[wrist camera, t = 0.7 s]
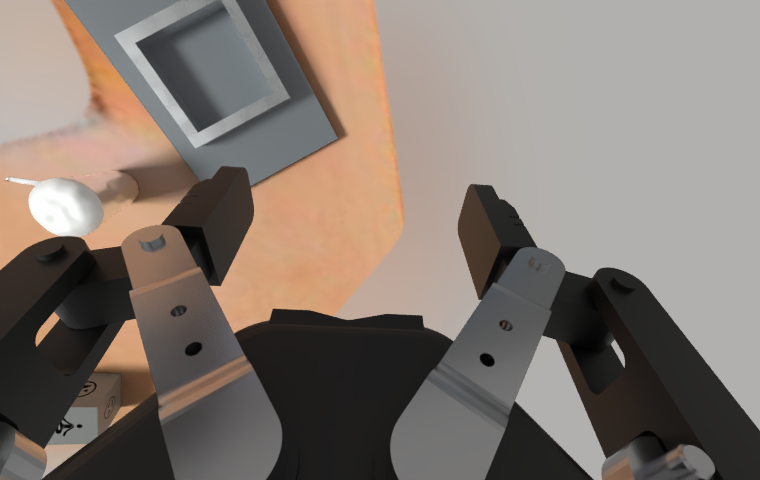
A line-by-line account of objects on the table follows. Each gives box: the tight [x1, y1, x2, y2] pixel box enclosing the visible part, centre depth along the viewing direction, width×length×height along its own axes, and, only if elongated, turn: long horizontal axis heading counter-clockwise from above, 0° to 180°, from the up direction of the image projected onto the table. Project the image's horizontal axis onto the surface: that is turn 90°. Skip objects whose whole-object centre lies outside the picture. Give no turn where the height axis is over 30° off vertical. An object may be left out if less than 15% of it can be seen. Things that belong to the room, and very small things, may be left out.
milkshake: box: [4, 171, 139, 237], centre depth 28 cm, size 5×5×10 cm
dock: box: [65, 0, 338, 186], centre depth 29 cm, size 20×14×4 cm
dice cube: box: [47, 373, 121, 445], centre depth 37 cm, size 5×5×5 cm
